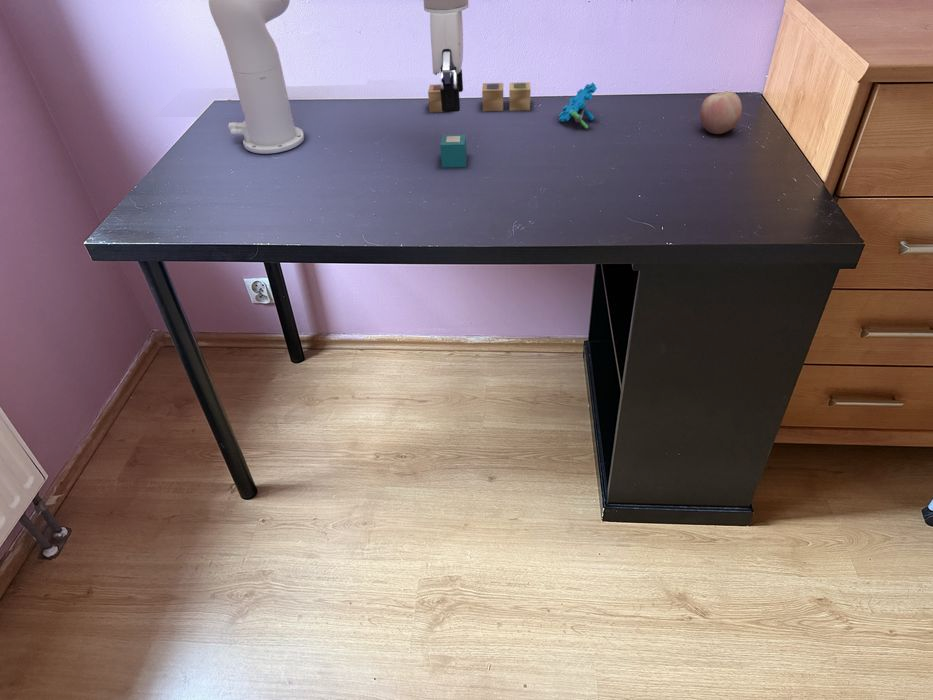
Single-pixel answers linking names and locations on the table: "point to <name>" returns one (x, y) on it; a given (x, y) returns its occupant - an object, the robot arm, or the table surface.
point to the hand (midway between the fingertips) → (452, 101)
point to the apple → (721, 112)
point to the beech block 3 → (519, 96)
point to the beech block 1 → (435, 98)
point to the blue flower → (579, 106)
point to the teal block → (453, 150)
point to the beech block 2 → (492, 96)
